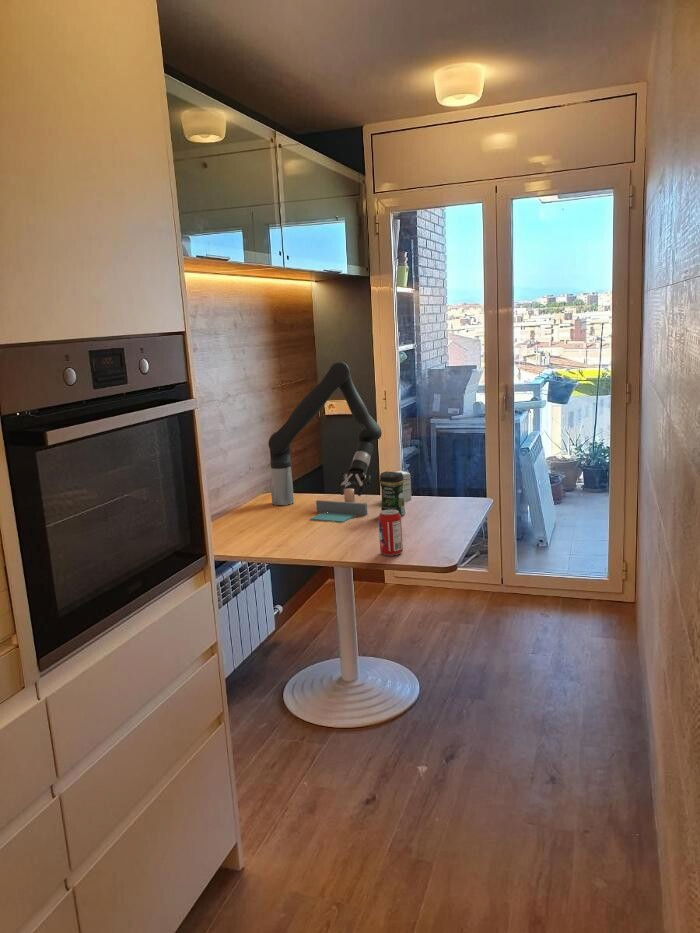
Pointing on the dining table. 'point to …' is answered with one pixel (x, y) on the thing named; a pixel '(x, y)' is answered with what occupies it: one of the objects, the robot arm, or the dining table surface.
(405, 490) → the supplement box
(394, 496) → the coffee jar
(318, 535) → the dining table surface
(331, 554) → the dining table surface
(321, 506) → the low wall
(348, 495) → the tan domed capsule
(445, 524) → the dining table surface
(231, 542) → the dining table surface
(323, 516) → the teal mat
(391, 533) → the soda can
